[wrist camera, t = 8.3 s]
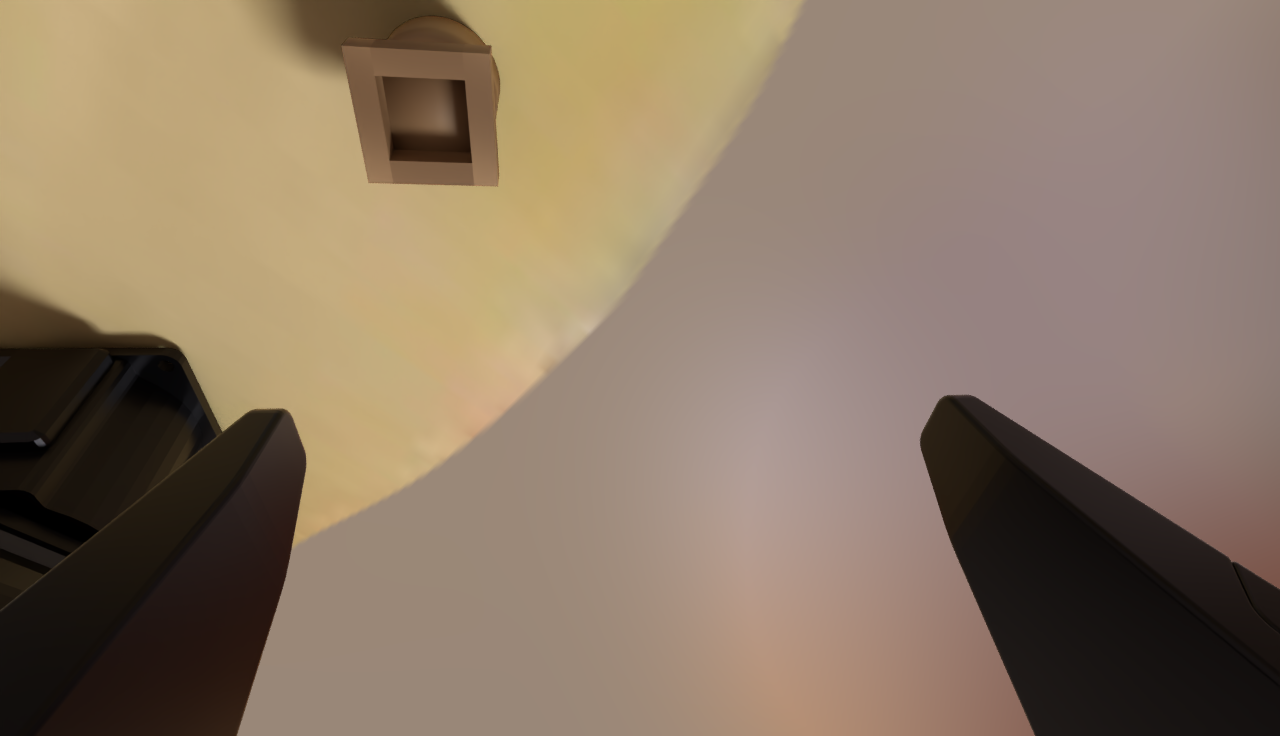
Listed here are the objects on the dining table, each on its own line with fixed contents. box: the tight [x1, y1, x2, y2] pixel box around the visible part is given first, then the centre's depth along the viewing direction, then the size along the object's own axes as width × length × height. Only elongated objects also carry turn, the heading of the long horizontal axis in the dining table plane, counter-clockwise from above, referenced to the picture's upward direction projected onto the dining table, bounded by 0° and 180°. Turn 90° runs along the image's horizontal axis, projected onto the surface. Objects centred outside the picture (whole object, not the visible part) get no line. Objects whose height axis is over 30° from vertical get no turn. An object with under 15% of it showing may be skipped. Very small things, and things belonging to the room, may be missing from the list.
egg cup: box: [341, 16, 500, 186], centre depth 17 cm, size 3×3×3 cm
